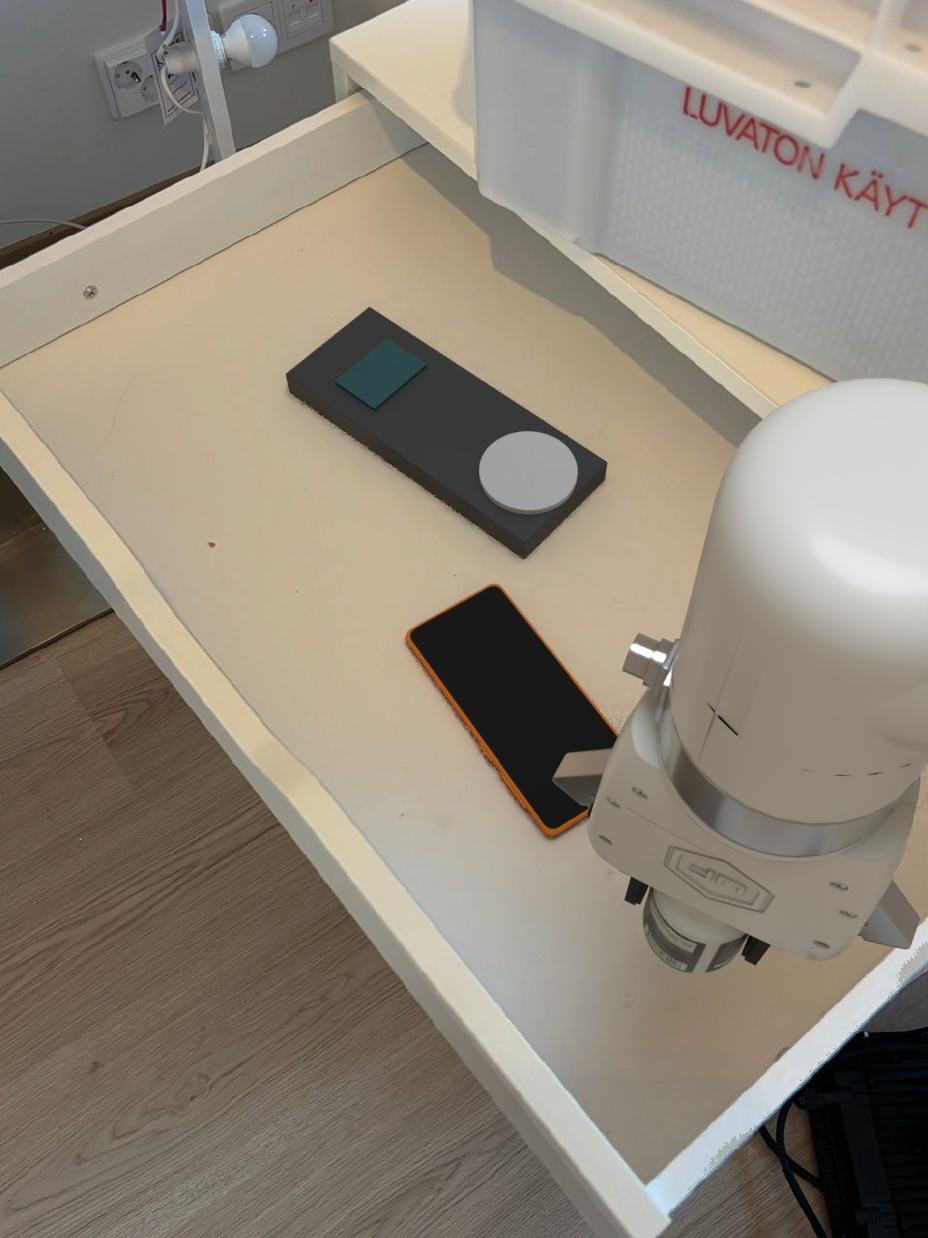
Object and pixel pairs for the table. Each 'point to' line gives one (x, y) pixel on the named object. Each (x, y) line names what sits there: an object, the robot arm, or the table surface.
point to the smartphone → (513, 698)
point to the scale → (448, 430)
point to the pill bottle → (688, 935)
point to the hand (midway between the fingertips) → (702, 901)
